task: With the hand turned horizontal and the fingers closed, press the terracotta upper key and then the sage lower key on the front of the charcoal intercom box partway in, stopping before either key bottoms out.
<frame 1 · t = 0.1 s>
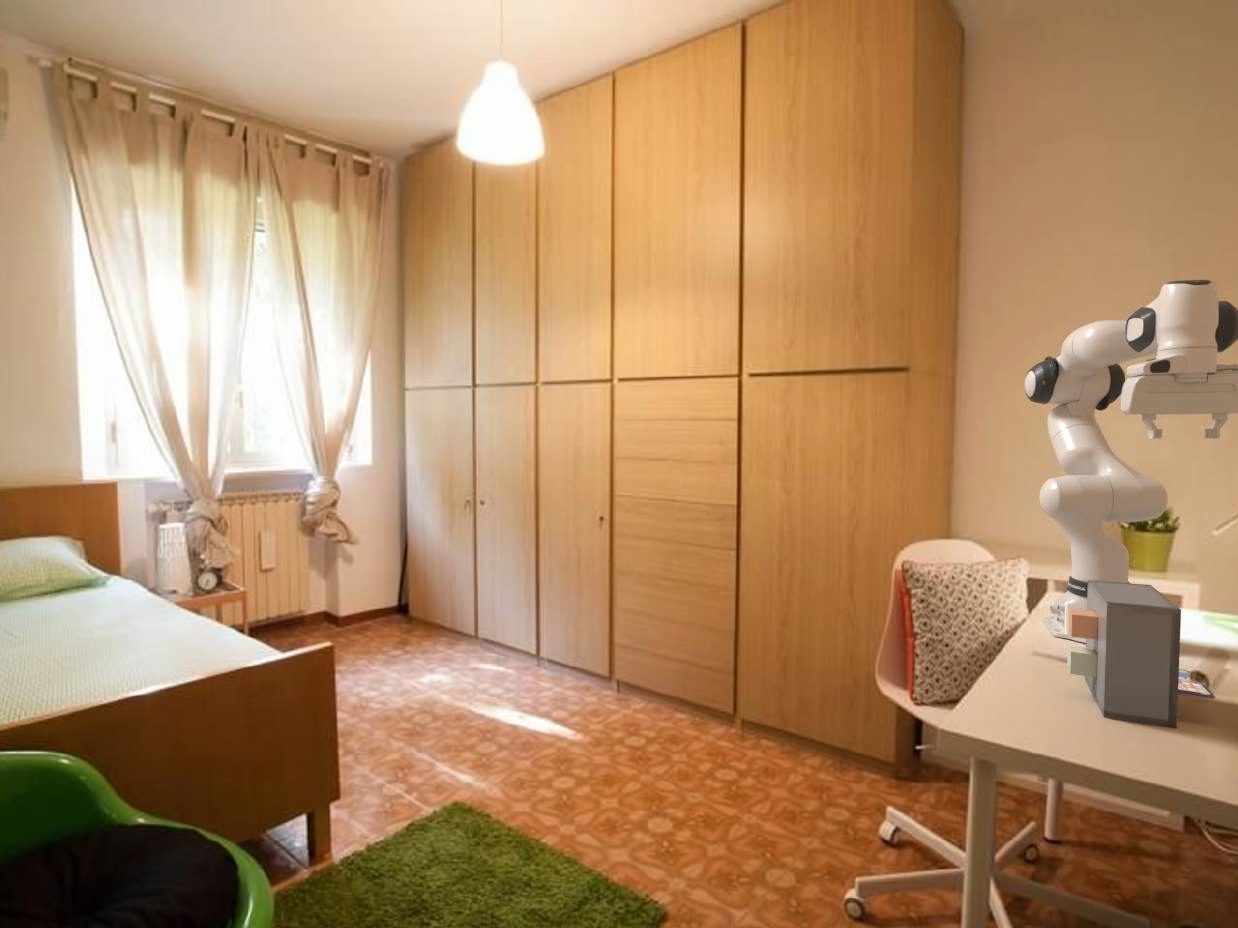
hand: (1183, 438, 129), 48 cm above the table, tool pointing down, fingers open, 8 cm apart
smartphone: (1177, 684, 133), on the table
key upper: (1086, 624, 126), point 14 cm above the table, slide at 0.0 cm
key lower: (1085, 661, 126), point 7 cm above the table, slide at 0.0 cm
intercom box: (1126, 701, 124), on the table
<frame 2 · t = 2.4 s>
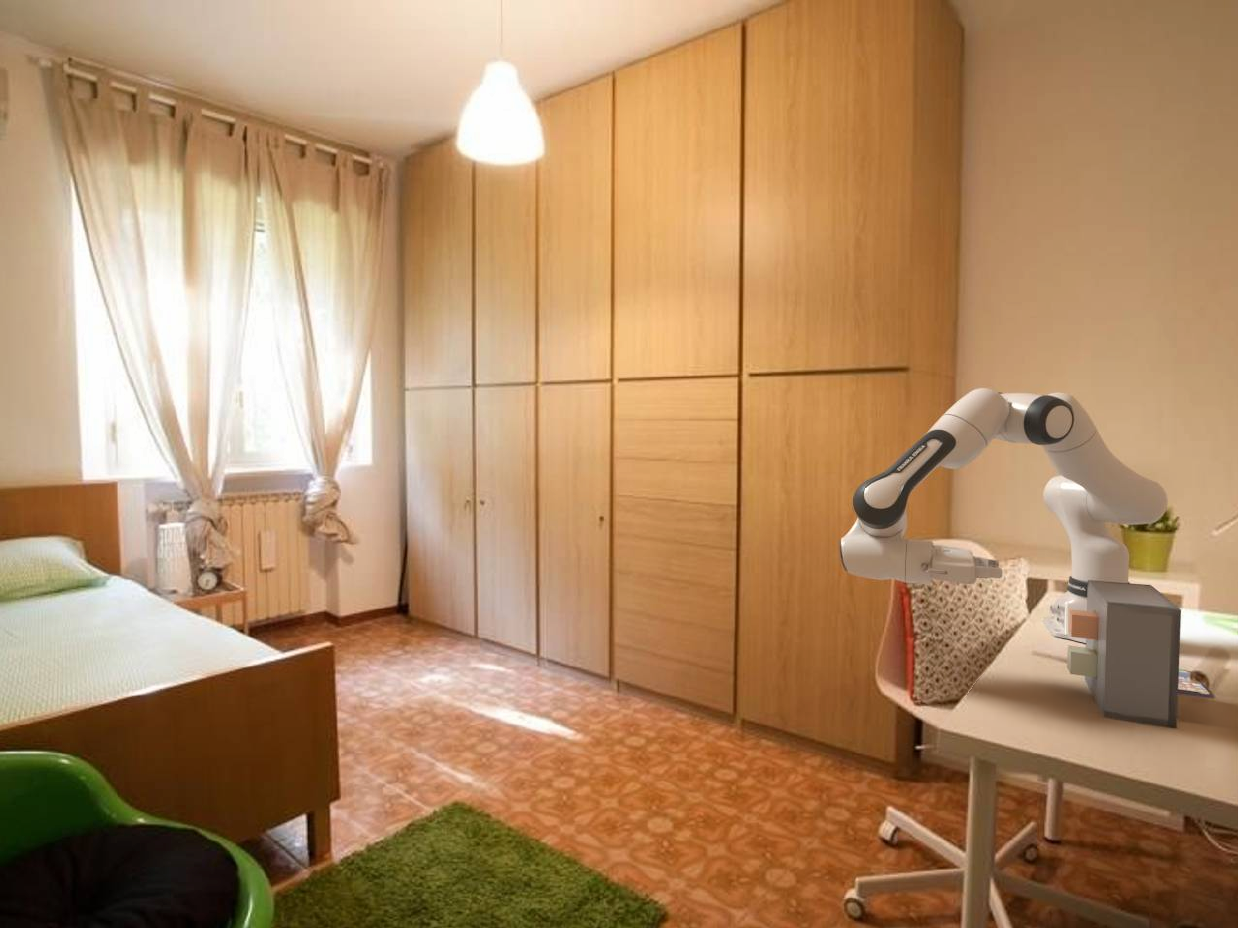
hand: (1000, 568, 132), 23 cm above the table, tool horizontal, fingers open, 8 cm apart
nothing on the table moved.
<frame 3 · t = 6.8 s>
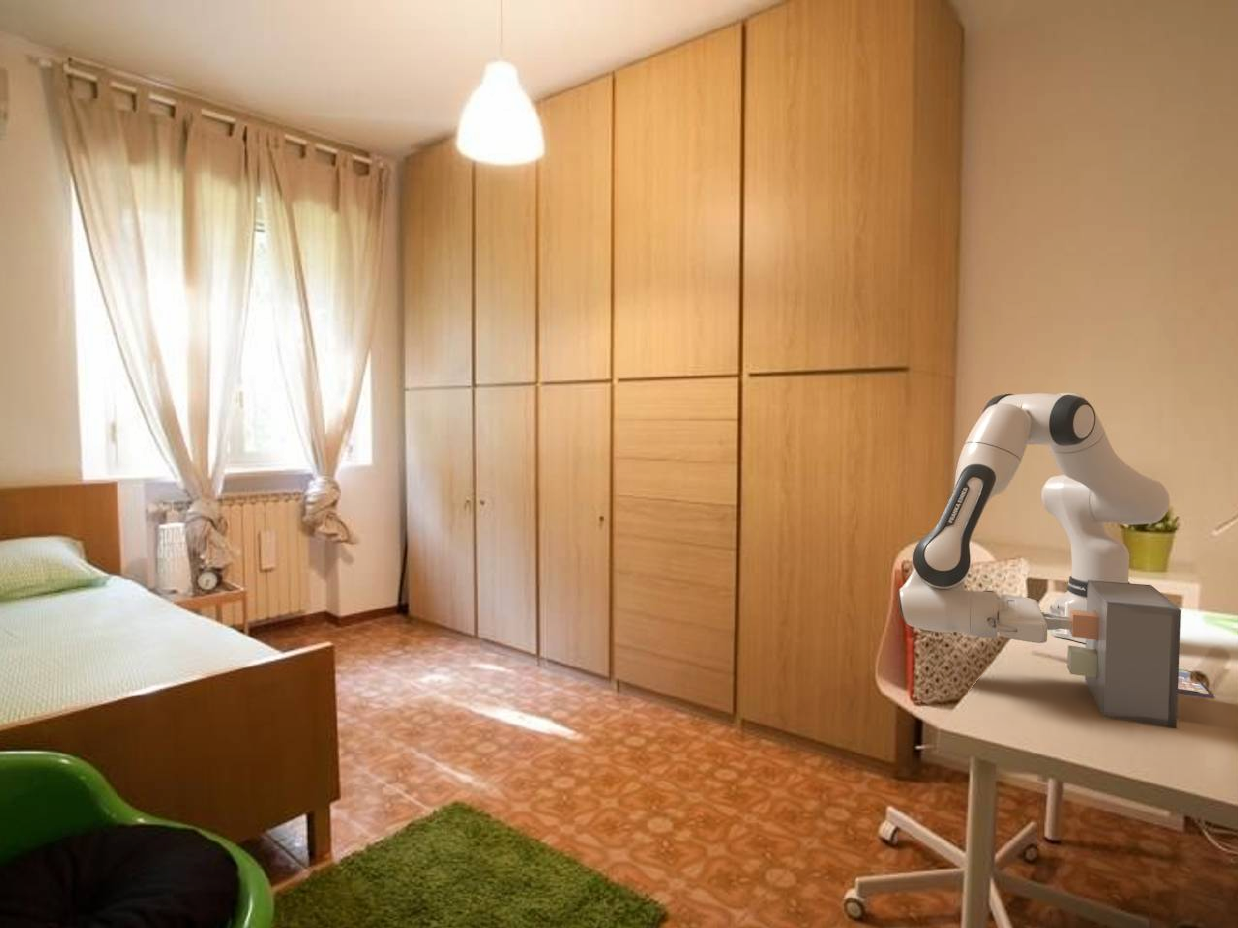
hand: (1070, 623, 127), 13 cm above the table, tool horizontal, fingers closed, pressing on key upper
key upper: (1087, 624, 126), point 13 cm above the table, slide at 0.2 cm, touching gripper
everything else where it was.
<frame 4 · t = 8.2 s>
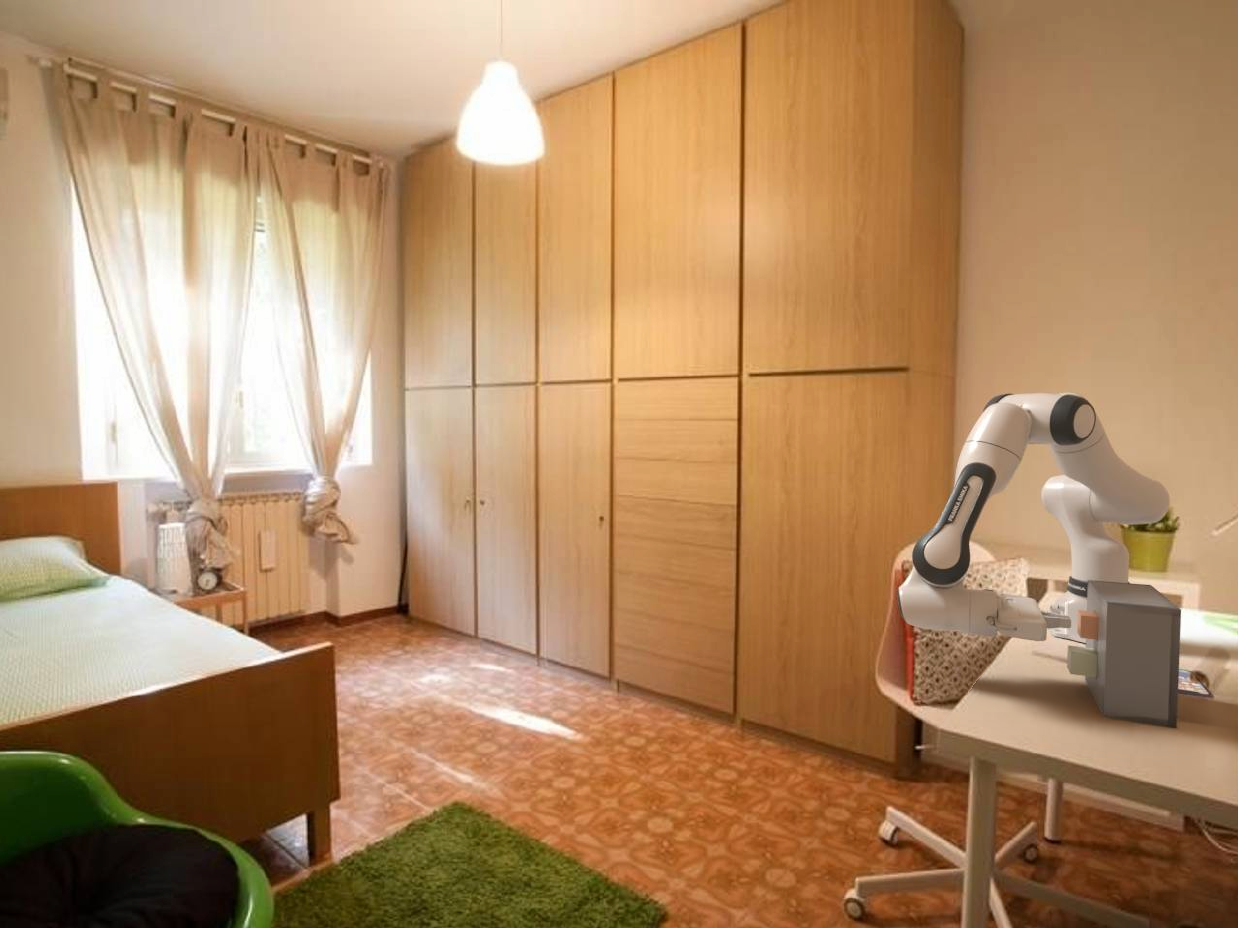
hand: (1070, 621, 127), 14 cm above the table, tool horizontal, fingers closed
key upper: (1095, 625, 125), point 13 cm above the table, slide at 1.4 cm
everything else where it was.
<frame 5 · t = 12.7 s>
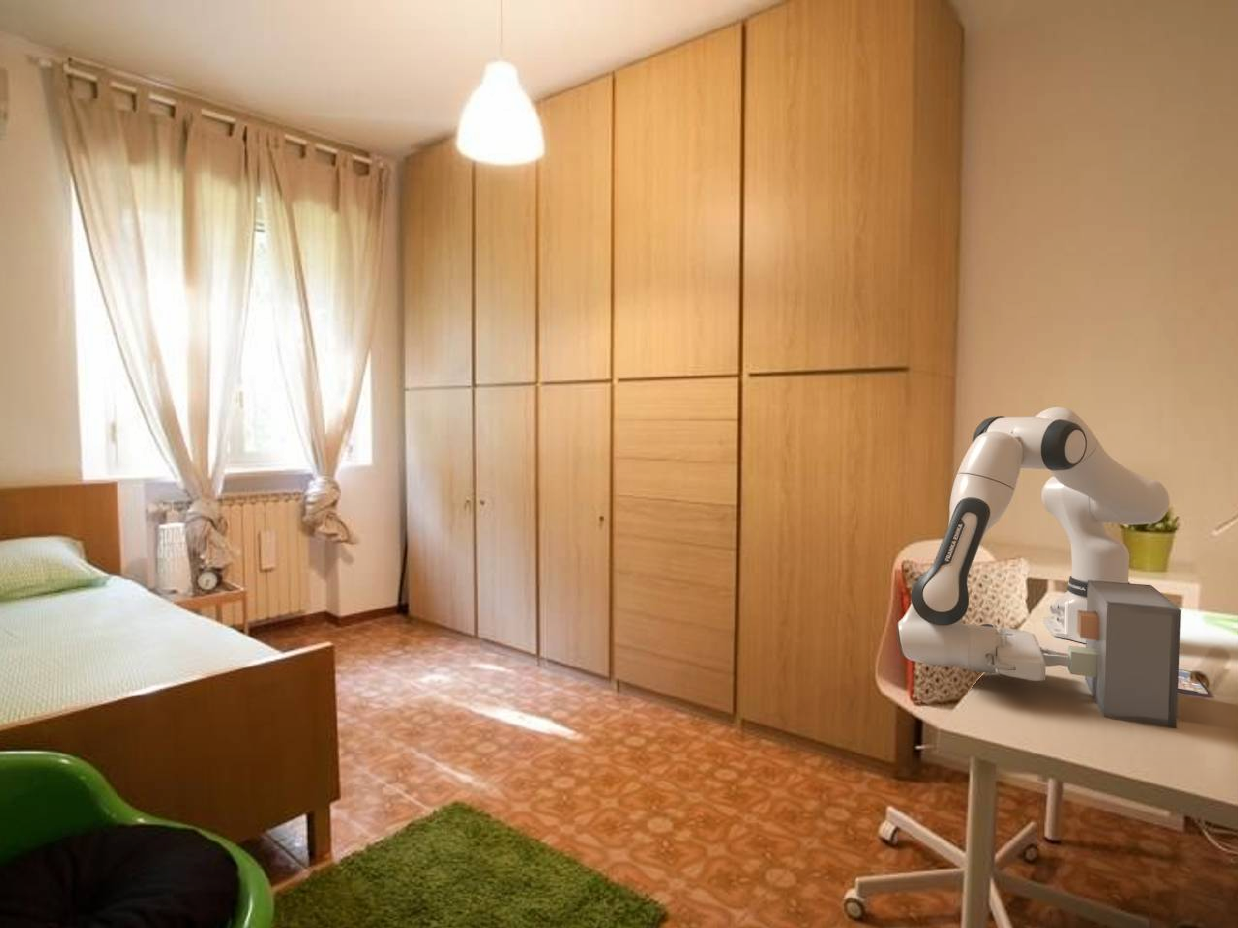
hand: (1068, 659, 128), 6 cm above the table, tool horizontal, fingers closed, pressing on key lower
key lower: (1085, 661, 126), point 7 cm above the table, slide at 0.0 cm, touching gripper
everything else where it was.
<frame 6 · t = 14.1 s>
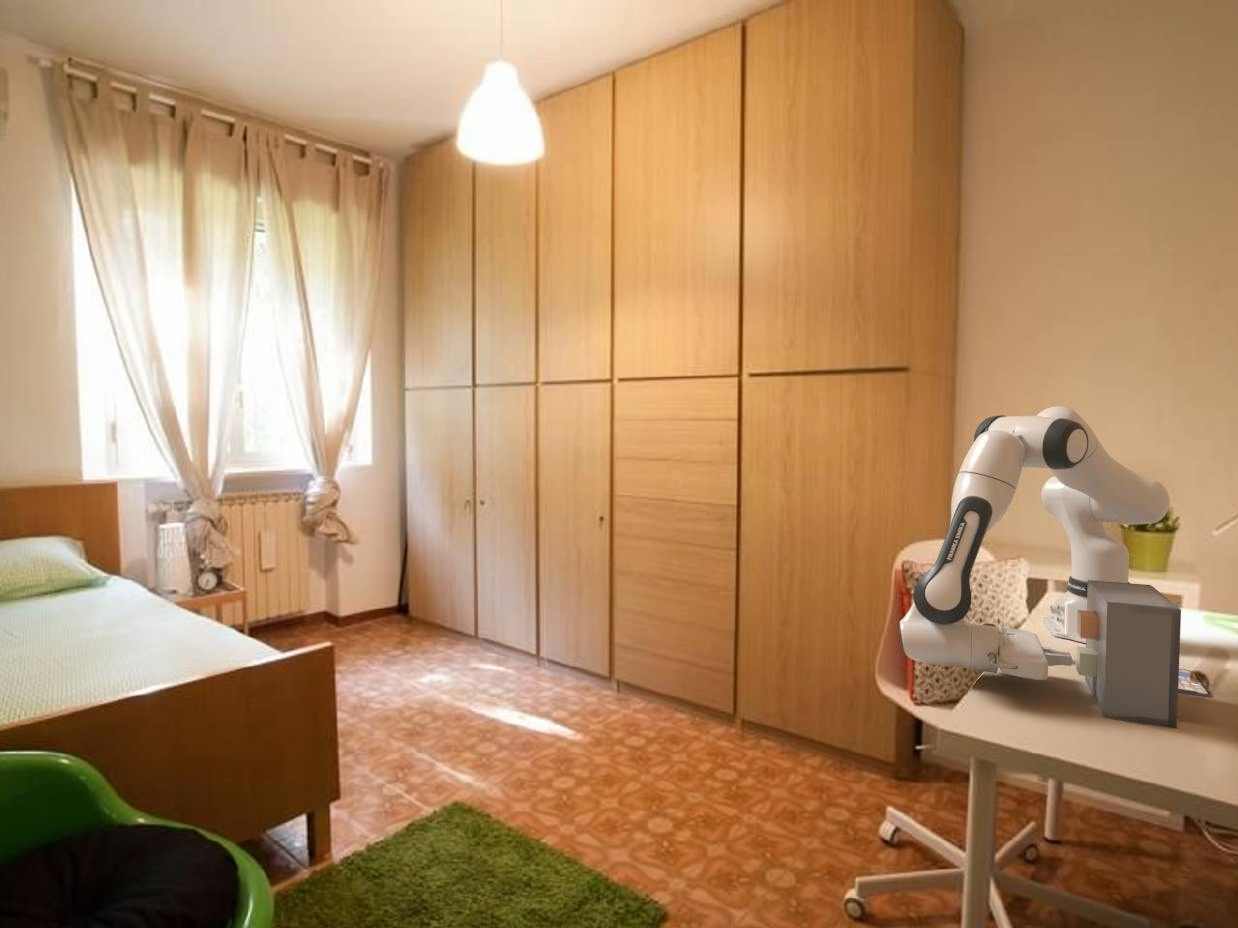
hand: (1071, 659, 127), 7 cm above the table, tool horizontal, fingers closed
key lower: (1093, 662, 126), point 7 cm above the table, slide at 1.4 cm
everything else where it was.
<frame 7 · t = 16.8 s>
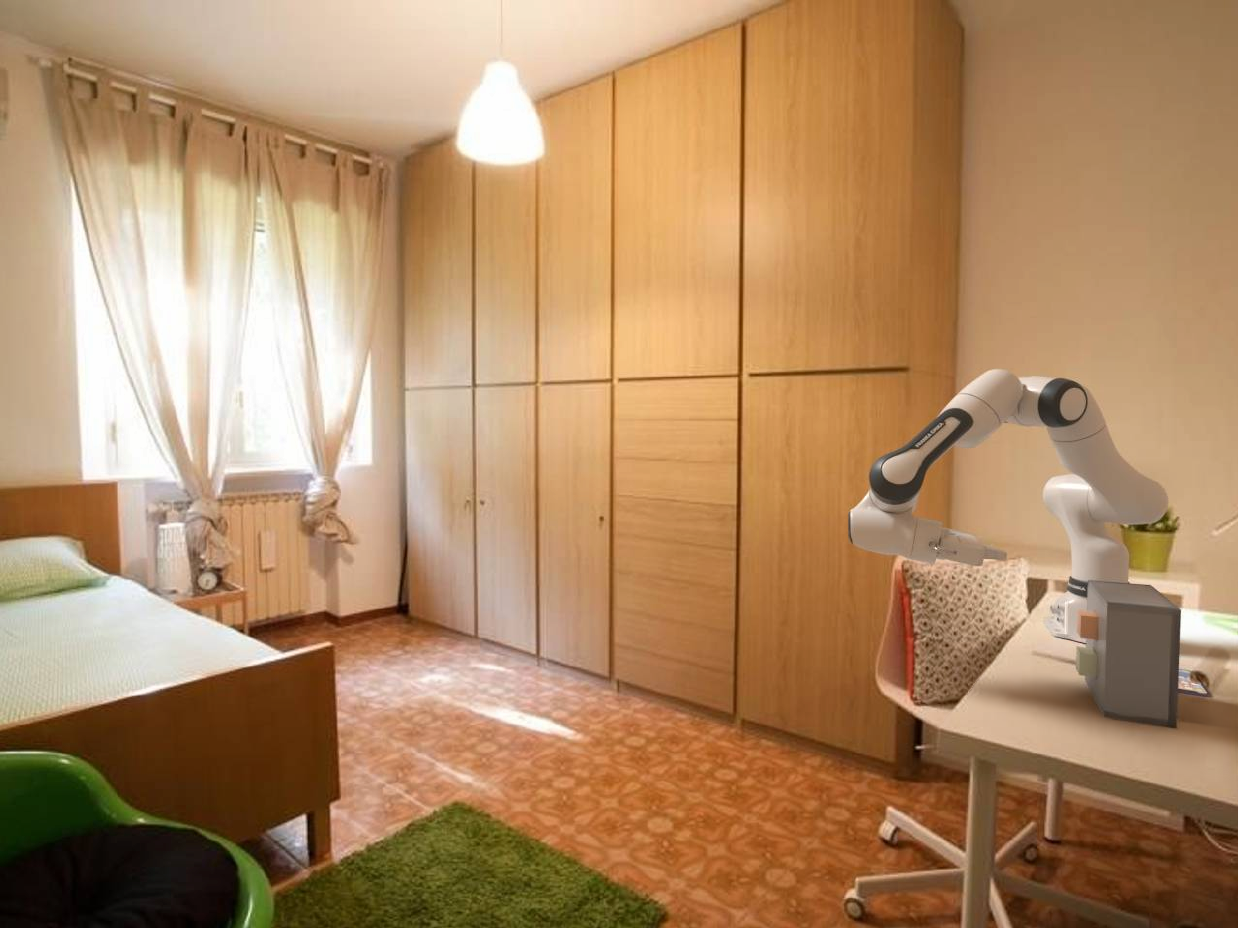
hand: (1005, 555, 133), 25 cm above the table, tool horizontal, fingers closed
nothing on the table moved.
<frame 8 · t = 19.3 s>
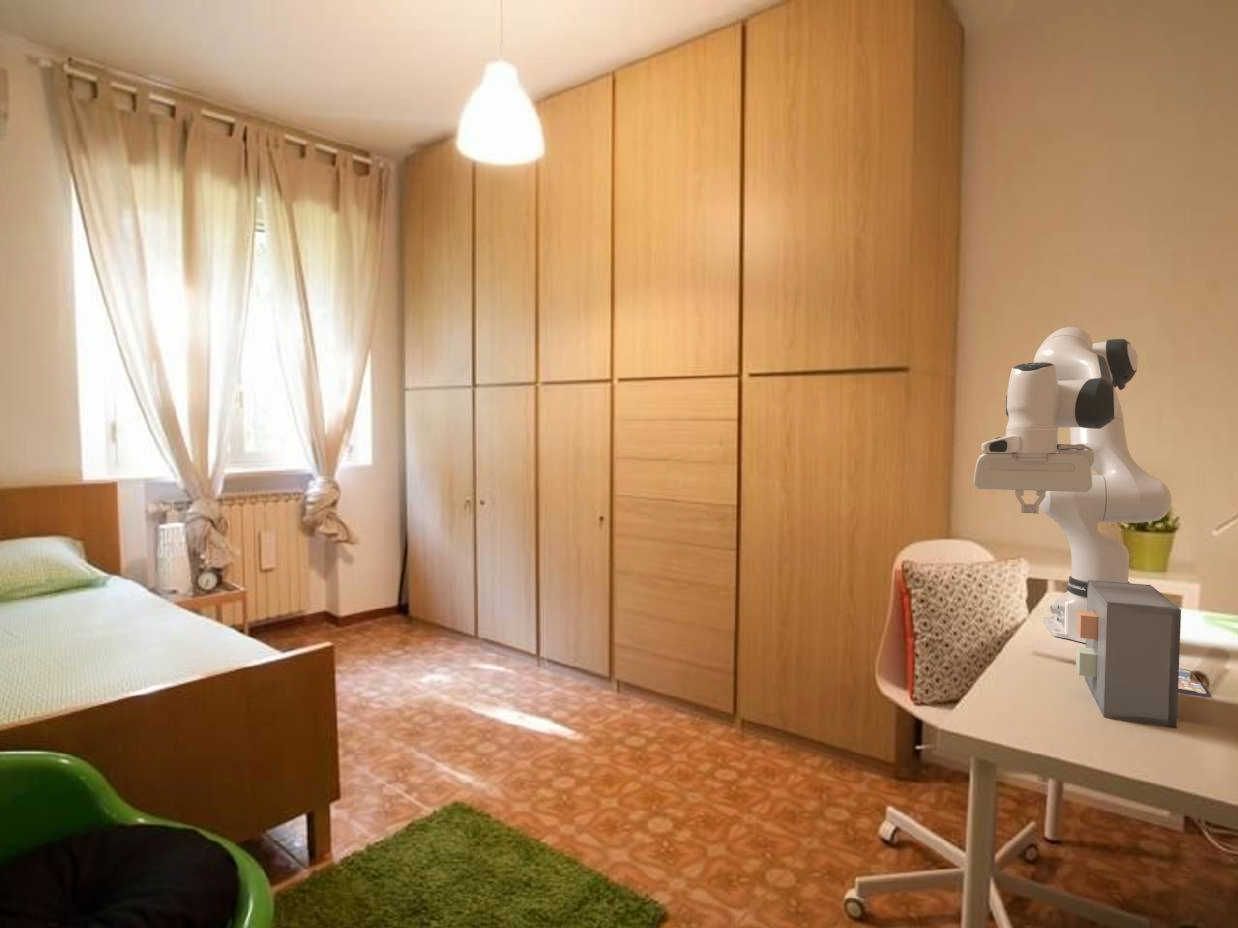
hand: (1029, 513, 136), 33 cm above the table, tool pointing down, fingers closed
nothing on the table moved.
at the end: key upper slide at 1.4 cm; key lower slide at 1.4 cm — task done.
